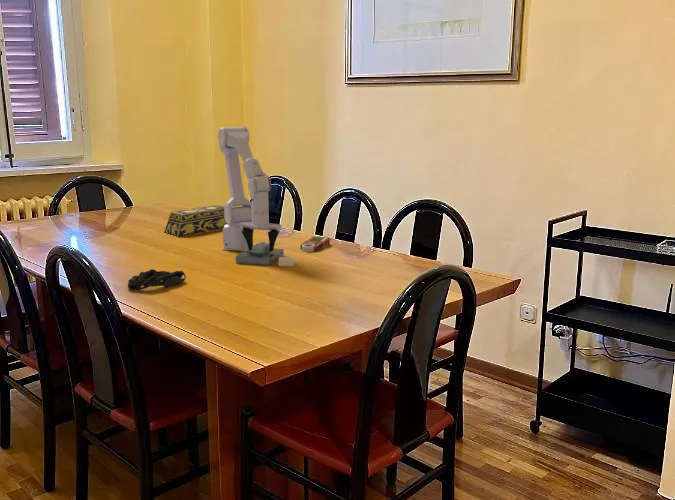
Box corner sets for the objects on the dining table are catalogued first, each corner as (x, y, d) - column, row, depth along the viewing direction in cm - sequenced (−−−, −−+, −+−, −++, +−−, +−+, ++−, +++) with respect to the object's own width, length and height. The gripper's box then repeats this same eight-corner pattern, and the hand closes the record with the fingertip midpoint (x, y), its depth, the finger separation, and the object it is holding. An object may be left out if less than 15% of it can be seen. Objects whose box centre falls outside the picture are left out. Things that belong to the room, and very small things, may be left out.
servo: (250, 261, 225) (250, 245, 224) (261, 255, 234) (260, 239, 232) (261, 262, 224) (261, 245, 223) (271, 256, 233) (271, 240, 231)
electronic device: (297, 245, 239) (313, 235, 253) (298, 253, 240) (314, 242, 253) (315, 247, 237) (330, 236, 250) (315, 255, 238) (330, 244, 251)
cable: (138, 295, 189) (137, 280, 188) (116, 285, 199) (115, 271, 198) (190, 283, 200) (190, 270, 199) (167, 274, 210) (166, 261, 209)
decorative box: (237, 227, 283) (236, 206, 281) (177, 238, 262) (176, 216, 260) (222, 224, 290) (221, 203, 288) (162, 234, 269) (161, 212, 267)
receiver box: (278, 266, 220) (278, 259, 219) (279, 263, 223) (279, 257, 223) (293, 266, 220) (293, 259, 219) (294, 263, 223) (294, 256, 223)
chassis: (235, 263, 223) (235, 254, 222) (251, 253, 236) (251, 245, 235) (269, 265, 220) (269, 256, 219) (283, 255, 233) (283, 247, 232)
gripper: (235, 212, 223) (236, 251, 226) (276, 214, 219) (276, 254, 222) (243, 208, 230) (245, 246, 233) (283, 210, 226) (284, 249, 229)
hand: (261, 250), depth 228 cm, fingers open, 7 cm apart
